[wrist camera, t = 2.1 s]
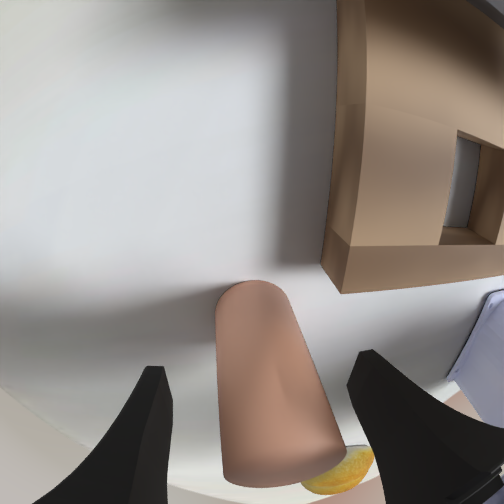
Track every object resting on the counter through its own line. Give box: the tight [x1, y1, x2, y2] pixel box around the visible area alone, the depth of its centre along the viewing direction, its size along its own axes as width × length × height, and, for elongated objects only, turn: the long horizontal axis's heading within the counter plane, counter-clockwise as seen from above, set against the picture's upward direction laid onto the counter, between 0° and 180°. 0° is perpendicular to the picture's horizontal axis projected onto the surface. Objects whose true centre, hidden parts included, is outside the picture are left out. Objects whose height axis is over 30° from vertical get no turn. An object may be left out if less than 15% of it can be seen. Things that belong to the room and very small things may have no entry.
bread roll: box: [301, 445, 374, 495], centre depth 22 cm, size 8×9×4 cm
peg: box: [215, 280, 347, 488], centre depth 10 cm, size 4×4×8 cm
